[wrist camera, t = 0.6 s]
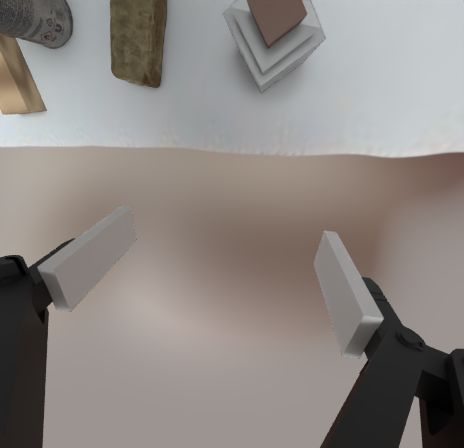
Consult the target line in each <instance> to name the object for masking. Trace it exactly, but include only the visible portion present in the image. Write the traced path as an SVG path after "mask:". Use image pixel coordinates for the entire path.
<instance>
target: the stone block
mask: <svg viewBox="0 0 464 448" xmlns="http://www.w3.org/2000/svg"><path fill="white" fill-rule="evenodd" d="M166 14H167V1H166V0H110V16H111V17H110V38H111V70H112V73H113V75H114V76H115V77H117V78H119V79H122V80H125V81H128V82H131V83H135V84H139V85H146V86H150V87H155V88H157V87H158V86H159V85H160V79H161V67H162V53H163V48H162V46H163V42H164V31H165V25H166Z"/></svg>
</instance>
